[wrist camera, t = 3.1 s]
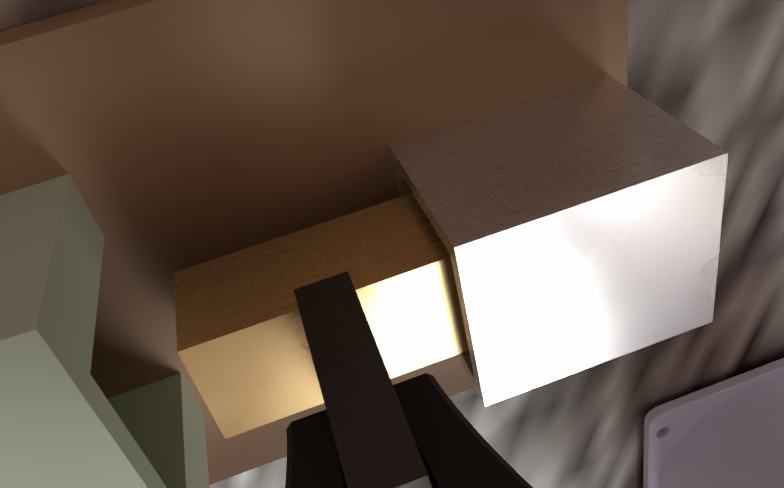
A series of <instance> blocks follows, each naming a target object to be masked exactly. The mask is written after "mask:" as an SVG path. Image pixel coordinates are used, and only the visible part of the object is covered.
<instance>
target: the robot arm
mask: <svg viewBox="0 0 784 488" xmlns="http://www.w3.org/2000/svg"><path fill="white" fill-rule="evenodd" d="M393 387H394V389H395V392H396V394H397V397H398V399H399V402H400V405H401V407H402V410H403V412H404V415H405V417H406V420H407V422H408V425H409V427H410V430H411V432H412V435H413V437H414V440H415V443H416V445H417V448H418V450H419V453H420V455H421V458H422V460H423V463H424V465H425V468H426V470H427V473H428V476H429V479H430V483H431V486H432V488H533V487H532V486H530V485H529V484H528V483H527V482H526V481H525V480H524V479H523V478H522V477H521V476H520V475H519V474H518V473H517V472H516V471H515V470H514V469H513V468H512V467H511V466H510V465H509V464H508V463H507V462H506V461H505V460H504V459H503V458H502V457H501V456H500V455H499V454H498V453H497V452H496V451H495V450H494V449H493V448H492V447H491V446H490V445H489V444H488V443H487V442H486V440H485V439H484V438H483V437H482V436H481V435H480V434H479V433H478V432H477V431H476V429H475V428H474V427H473V426H472V425H471V424H470V423H469V421H468V420H467V419H466V418H465V417H464V416H463V415H462V413H461V412H460V411H459V410H458V409H457V407H456V406H455V405H454V404H453V402H452V401H451V400H450V398H449V397H448V396H447V394H446V393H445V392H444V390H443V389H442V388H441V386H440V385H439V383H438V382H437V380H436V379H435V377H434V376H433V375H430V374H427V373H425V374H422V375H419V376H416V377H414V378H411V379H408V380H405V381H403V382H400V383H397V384H394V385H393ZM286 433H287V471H286V486H285V488H348V487H347V484H346V480H345V476H344V473H343V469H342V465H341V462H340V458H339V454H338V451H337V447H336V443H335V440H334V436H333V433H332V429H331V425H330V422H329V418H328V414H327V411H326V409H325V410H323V411H320V412H317V413H314V414H312V415H309V416H306V417H303V418H301V419H298V420H295V421H292V422H291V423H290V424H289V426H288V427H287V429H286ZM643 488H784V358H781V359H778V360H776V361H773V362H771V363H768V364H765V365H763V366H760V367H758V368H755V369H752V370H750V371H747V372H745V373H742V374H739V375H737V376H734V377H732V378H729V379H726V380H724V381H721V382H719V383H716V384H713V385H711V386H708V387H706V388H703V389H700V390H698V391H695V392H693V393H690V394H687V395H685V396H682V397H680V398H677V399H674V400H672V401H669V402H667V403H664V404H661V405H659V406H656V407H654V408H653V409H651V410H650V411H649V412H648V413H647V415H646V416H645V420H644V468H643Z"/></svg>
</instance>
